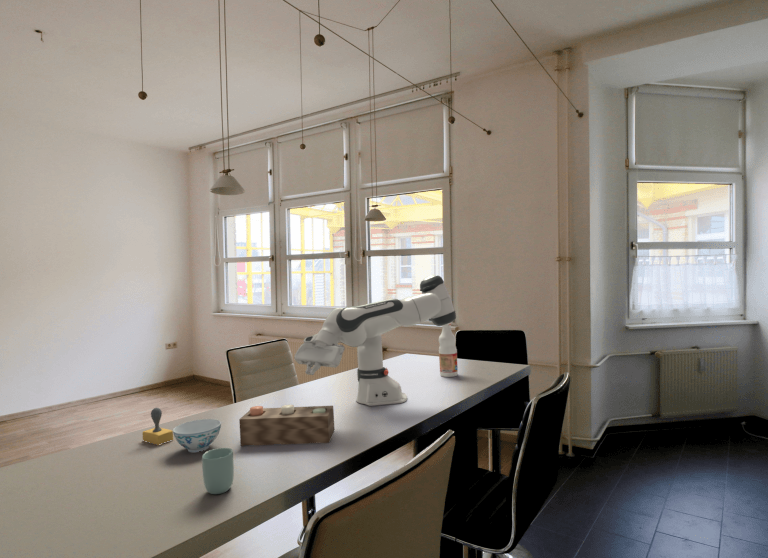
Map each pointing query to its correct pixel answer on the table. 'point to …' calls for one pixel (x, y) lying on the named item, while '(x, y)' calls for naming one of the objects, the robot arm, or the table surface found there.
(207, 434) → the chinaware
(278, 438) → the console
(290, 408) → the cream button
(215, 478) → the cup
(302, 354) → the robot arm
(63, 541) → the table surface
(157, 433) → the rubber stamp
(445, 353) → the fruit juice
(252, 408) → the terracotta button
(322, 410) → the sage button
